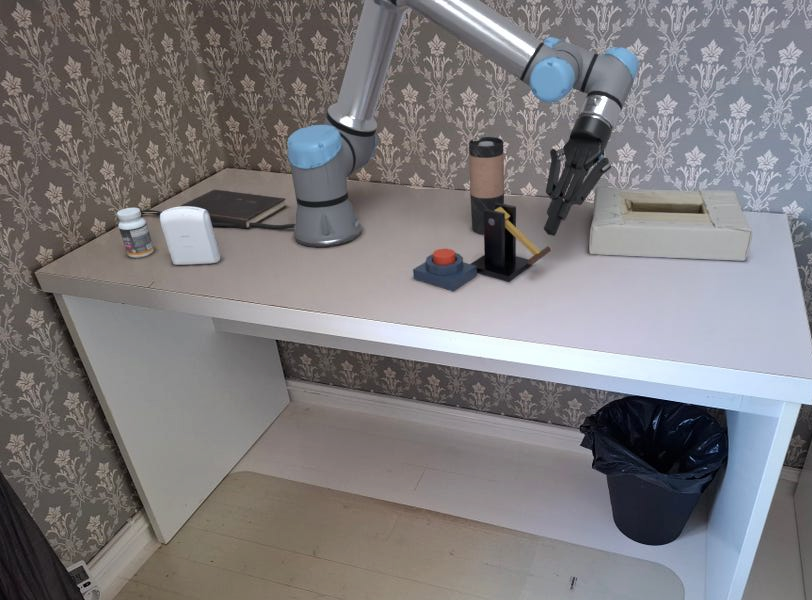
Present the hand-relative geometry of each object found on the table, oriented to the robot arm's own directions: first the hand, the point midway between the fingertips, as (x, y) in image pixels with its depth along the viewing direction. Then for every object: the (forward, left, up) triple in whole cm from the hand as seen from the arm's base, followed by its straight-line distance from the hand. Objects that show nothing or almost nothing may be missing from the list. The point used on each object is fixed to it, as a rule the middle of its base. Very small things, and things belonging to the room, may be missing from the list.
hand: (549, 232), depth 132 cm
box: (+13, +29, -9) cm, 33 cm away
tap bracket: (-9, -3, -9) cm, 13 cm away
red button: (-16, -13, -5) cm, 21 cm away
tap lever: (-6, -3, -2) cm, 7 cm away
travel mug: (-23, +13, -9) cm, 28 cm away
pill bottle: (-82, -39, -9) cm, 92 cm away
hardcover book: (-85, -12, -9) cm, 87 cm away
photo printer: (-67, -35, -9) cm, 76 cm away
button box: (-16, -13, -9) cm, 22 cm away
